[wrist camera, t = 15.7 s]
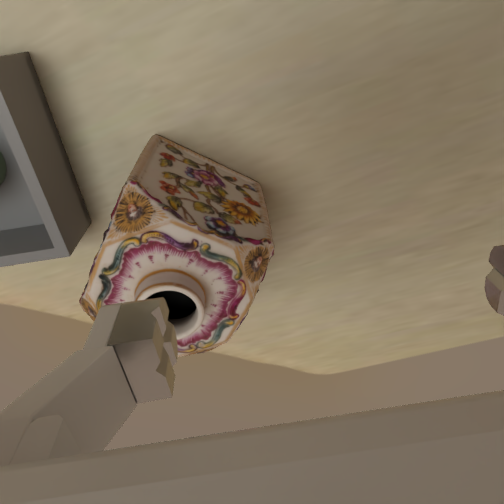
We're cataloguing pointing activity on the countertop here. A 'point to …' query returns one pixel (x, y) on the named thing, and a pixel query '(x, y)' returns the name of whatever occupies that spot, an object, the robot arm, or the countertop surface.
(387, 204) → the countertop surface
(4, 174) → the egg-shaped green gourd
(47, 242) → the grey bin
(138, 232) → the decorative jar
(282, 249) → the countertop surface
